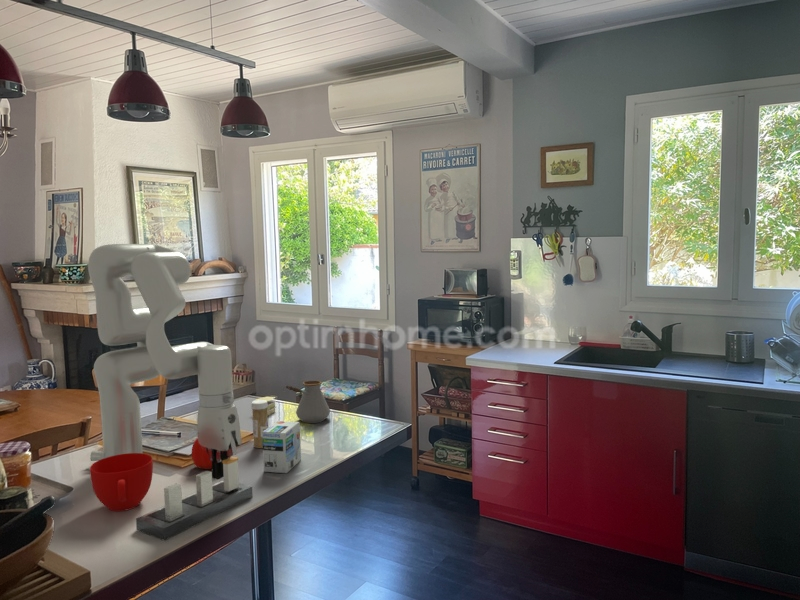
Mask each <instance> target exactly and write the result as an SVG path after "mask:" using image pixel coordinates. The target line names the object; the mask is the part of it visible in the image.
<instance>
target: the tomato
mask: <svg viewBox="0 0 800 600" xmlns="http://www.w3.org/2000/svg"><path fill="white" fill-rule="evenodd" d="M222 453H223V452H222ZM230 457H232V456H229V458H230ZM191 459H192V462H193V463H194V466H195V467H197V468H199V469H201V470H202V469H203V470H212V461H210V459H209V454H208V453H207V451H205V450H203V449H202V448H201V445H200V444H199V442H198V437H197V438H196V439H195V440H194V442H193V443H192V447H191Z"/></svg>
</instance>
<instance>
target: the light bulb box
mask: <svg viewBox="0 0 800 600" xmlns="http://www.w3.org/2000/svg"><path fill="white" fill-rule="evenodd" d="M262 440H263V448H262V455H263V456H262V458H263V462H262V463H263V472H264V473H278V474H279V473H280V474H288V472H290V471H291V470H292V469H293V468H294V467H295V466H296V465H297V464H299V463H300V462H301V460H302V446H301V423H300V421H288V420H287V421H285V420H277V421H276V422H274V423H273V424H272V425H270V426H268V428H267V429H266V430H265V431H263V432H262Z"/></svg>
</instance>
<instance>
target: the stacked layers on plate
mask: <svg viewBox="0 0 800 600" xmlns="http://www.w3.org/2000/svg"><path fill="white" fill-rule="evenodd" d="M275 398H277V397H275V396H263V397H260V398H259V397H258V398H256V399H254V400H253V401H256V400H266V401H267V403H268V407H267V417H268V416H271V415H272V414H273V413H275V412H276V409H277V406H276V403H277V401H276V400H273V399H275Z"/></svg>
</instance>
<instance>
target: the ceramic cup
mask: <svg viewBox="0 0 800 600" xmlns="http://www.w3.org/2000/svg"><path fill="white" fill-rule="evenodd" d="M153 468H154V459H153V457H152V455H150V454H147V453H144V452H143V453H127V454H120V455H115V456H110V457H107V458H104V459H101V460H99V461H94V462H93V463H92V464H91V465H90V467H89V473H90V474H89V475H90V480H91V484H92V490H93V492H94V495H95V497H96V498H97V499H98V501H99V502H100V503H101V504H102V505H103V506H105V507H106V508H107V509H108V510H109V511H111V512H123V511H124V512H125V511H128V510H131V509H134V508H136V507H138V506H139V505H140V504H141V502H142V501H143V499H144V498H145V497H146V495H148V492H149V490H150V488H151V485H152V484H151V483H152V480H153V473H154V469H153Z"/></svg>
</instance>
